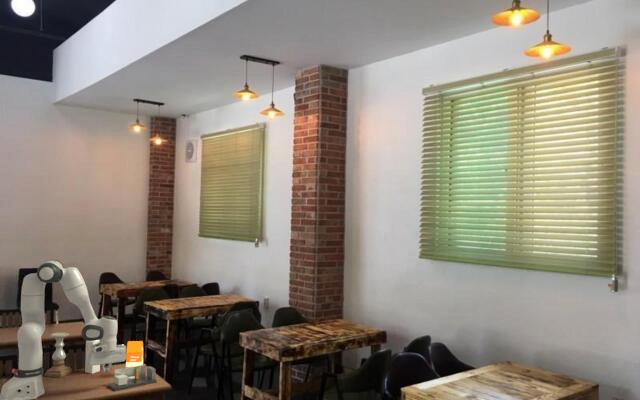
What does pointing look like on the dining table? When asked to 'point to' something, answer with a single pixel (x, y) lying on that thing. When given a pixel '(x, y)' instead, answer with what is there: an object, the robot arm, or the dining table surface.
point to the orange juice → (134, 353)
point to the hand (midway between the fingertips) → (106, 371)
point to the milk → (87, 368)
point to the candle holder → (59, 357)
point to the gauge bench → (135, 382)
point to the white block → (122, 379)
